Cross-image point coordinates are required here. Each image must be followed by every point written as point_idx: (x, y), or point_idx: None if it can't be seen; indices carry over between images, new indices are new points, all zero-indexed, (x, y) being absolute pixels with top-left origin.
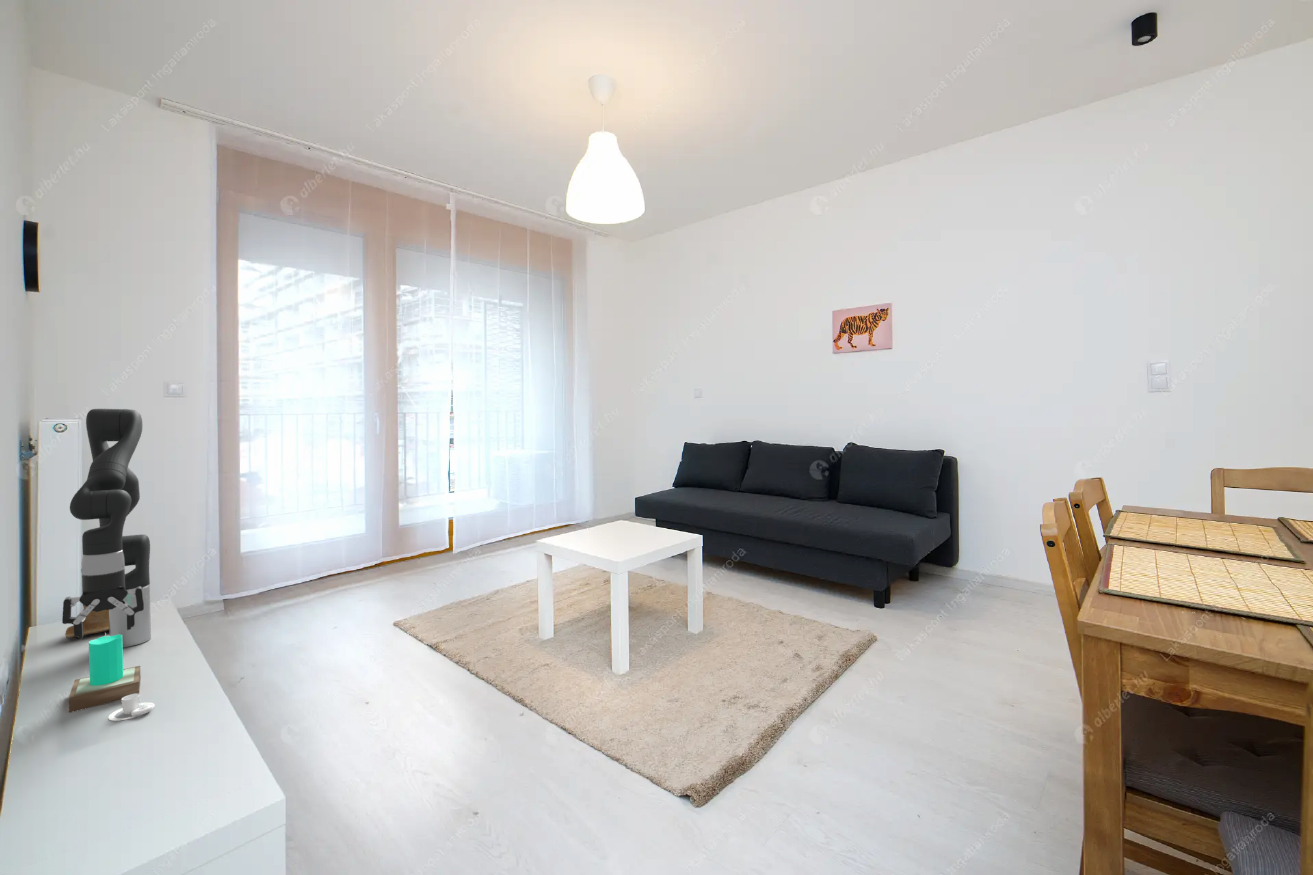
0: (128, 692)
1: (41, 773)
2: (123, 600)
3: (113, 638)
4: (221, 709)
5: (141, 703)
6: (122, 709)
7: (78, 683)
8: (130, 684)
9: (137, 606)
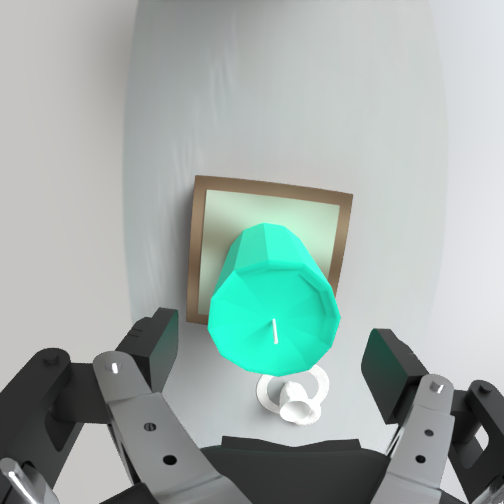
0: None
1: None
2: (446, 447)
3: (304, 307)
4: (382, 452)
5: (313, 367)
6: None
7: (203, 219)
8: None
9: (450, 458)
